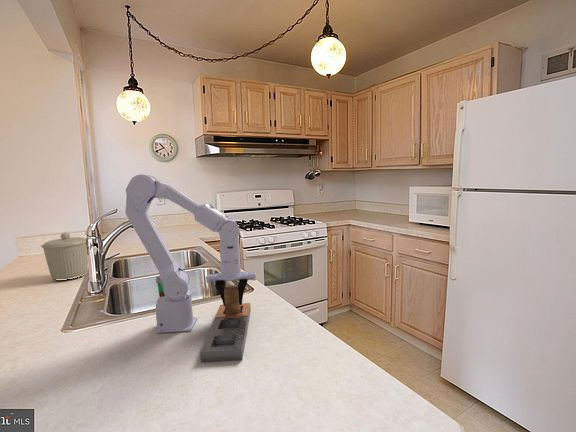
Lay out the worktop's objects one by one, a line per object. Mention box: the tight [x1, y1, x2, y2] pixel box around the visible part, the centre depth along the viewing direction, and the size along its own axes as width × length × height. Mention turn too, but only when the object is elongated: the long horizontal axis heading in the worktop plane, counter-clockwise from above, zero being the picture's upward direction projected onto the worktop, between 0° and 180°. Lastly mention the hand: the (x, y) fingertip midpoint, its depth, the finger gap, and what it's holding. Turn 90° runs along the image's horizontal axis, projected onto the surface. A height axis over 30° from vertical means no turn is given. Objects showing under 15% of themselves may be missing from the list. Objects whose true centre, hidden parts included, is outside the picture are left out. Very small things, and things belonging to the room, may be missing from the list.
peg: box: [224, 284, 241, 314], centre depth 92 cm, size 4×4×9 cm
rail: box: [199, 302, 252, 363], centre depth 84 cm, size 9×27×3 cm, turn 3°
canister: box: [40, 232, 89, 280], centre depth 142 cm, size 18×18×21 cm
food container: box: [155, 276, 165, 298], centre depth 110 cm, size 12×6×10 cm, turn 168°
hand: (233, 304), depth 93 cm, fingers closed on peg, 4 cm apart
